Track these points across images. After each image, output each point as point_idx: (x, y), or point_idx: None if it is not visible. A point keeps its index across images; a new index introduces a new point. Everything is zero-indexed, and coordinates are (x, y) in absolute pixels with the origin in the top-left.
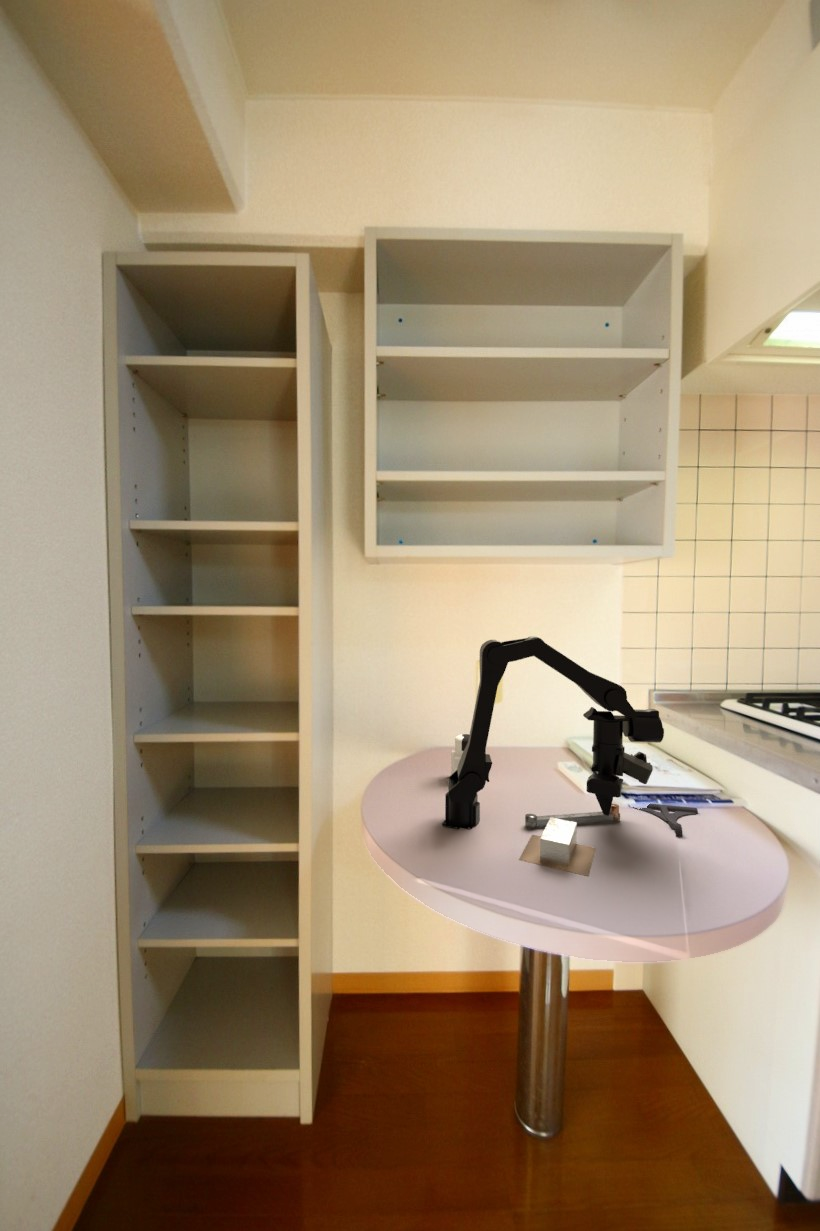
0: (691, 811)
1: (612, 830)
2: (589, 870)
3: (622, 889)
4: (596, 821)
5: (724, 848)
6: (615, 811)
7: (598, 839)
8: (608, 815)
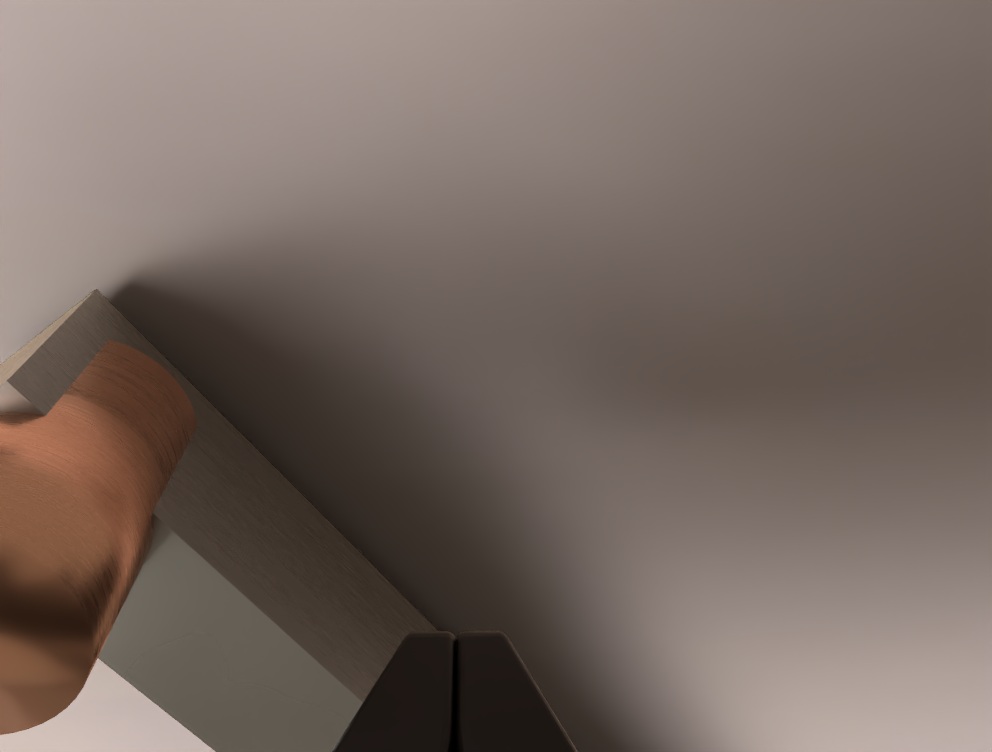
0: None
1: (479, 383)
2: None
3: None
4: None
5: None
6: (108, 518)
7: (931, 541)
8: (505, 635)
